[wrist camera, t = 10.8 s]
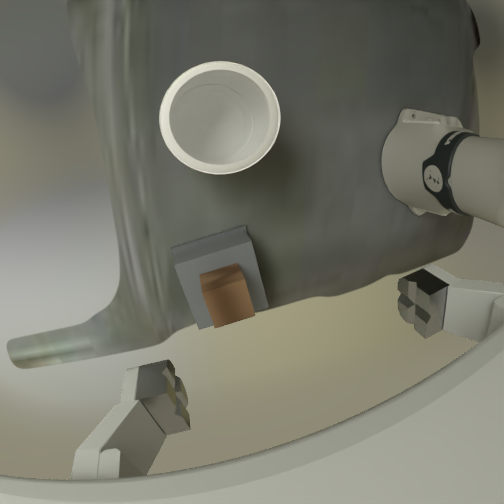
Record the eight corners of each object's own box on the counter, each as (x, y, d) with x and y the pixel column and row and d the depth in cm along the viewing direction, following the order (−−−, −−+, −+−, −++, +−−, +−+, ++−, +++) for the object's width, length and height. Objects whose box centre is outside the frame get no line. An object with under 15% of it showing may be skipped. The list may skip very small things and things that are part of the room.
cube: (237, 262, 39) (245, 279, 35) (246, 296, 41) (255, 315, 36) (199, 274, 39) (201, 292, 34) (210, 307, 40) (214, 328, 36)
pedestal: (244, 224, 44) (253, 237, 38) (261, 289, 48) (272, 309, 43) (171, 247, 43) (169, 263, 37) (194, 310, 47) (197, 332, 41)
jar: (251, 93, 38) (286, 70, 24) (242, 167, 41) (273, 180, 27) (172, 86, 35) (166, 55, 22) (164, 162, 39) (153, 171, 25)
